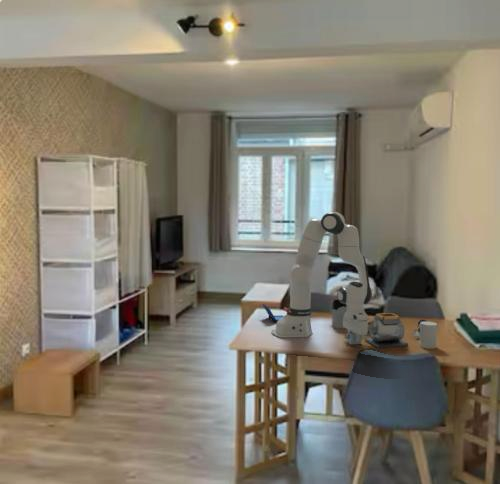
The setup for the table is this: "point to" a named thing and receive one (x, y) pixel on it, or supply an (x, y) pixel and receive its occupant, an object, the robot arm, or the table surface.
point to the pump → (352, 338)
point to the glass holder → (337, 314)
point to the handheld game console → (274, 318)
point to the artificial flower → (417, 333)
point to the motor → (386, 331)
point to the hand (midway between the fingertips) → (354, 339)
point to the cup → (428, 335)
